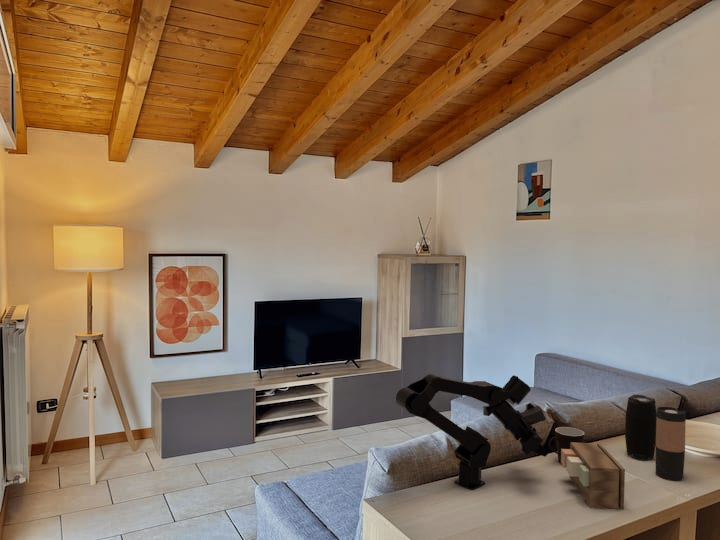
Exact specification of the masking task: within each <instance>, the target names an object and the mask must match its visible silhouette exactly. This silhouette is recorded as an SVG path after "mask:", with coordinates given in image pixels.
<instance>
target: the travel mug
mask: <svg viewBox="0 0 720 540" xmlns="http://www.w3.org/2000/svg"><path fill="white" fill-rule="evenodd" d="M656 412H657V421H656V447H655V474H656V476H657V477H659V478H660V479H663V480H667V481H672V482H681V481H683V480H682V479H684V471H685V458H686V457H685V455H686V422H687V421H686V419H687V418H686V417H687V415H686V411H685V410H678V409H677V408H676V407H672V406H659V407H656Z"/></svg>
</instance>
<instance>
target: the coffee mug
mask: <svg viewBox="0 0 720 540" xmlns="http://www.w3.org/2000/svg"><path fill="white" fill-rule="evenodd" d="M554 430H555V436H553V437H551V438H550V439H548V448H549V449H550V450H551V451H552V453H553V452H554V453H555V454H556V455H557V459H558V460H557V462H558V463H559V464H560V463H561V449H570V442H577V443H584V439H585V431H583V430H581V429H578V428H575V427H570V426H559V427H556V428H555V429H554ZM554 440H556V441H555V443H556V450H557V451H556V450H555V449H553V448H552V446H551V443H552V441H554ZM560 465H562V463H561V464H560Z"/></svg>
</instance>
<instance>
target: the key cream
mask: <svg viewBox="0 0 720 540" xmlns="http://www.w3.org/2000/svg"><path fill="white" fill-rule="evenodd" d="M579 465H583V460H582V459H581V457H567V468H566V472H567V474H568V475H569V477H570V476H574V477H579Z"/></svg>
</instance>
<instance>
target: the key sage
mask: <svg viewBox="0 0 720 540" xmlns="http://www.w3.org/2000/svg"><path fill="white" fill-rule="evenodd" d="M579 480H580V482H581V483H582V485H583V486H589V480H590V469H589V467H588V466H586V465H579Z"/></svg>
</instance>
